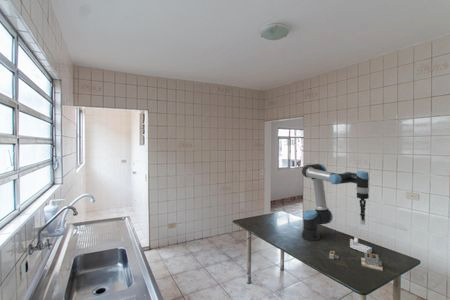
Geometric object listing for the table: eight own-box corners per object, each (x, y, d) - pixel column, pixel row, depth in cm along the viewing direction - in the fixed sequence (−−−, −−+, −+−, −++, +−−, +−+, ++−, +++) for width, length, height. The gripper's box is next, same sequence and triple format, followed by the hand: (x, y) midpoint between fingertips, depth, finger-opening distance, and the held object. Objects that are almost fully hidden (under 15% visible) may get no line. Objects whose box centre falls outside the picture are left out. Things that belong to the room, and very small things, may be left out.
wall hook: (333, 256, 176) (333, 254, 176) (338, 257, 175) (338, 255, 174) (332, 257, 174) (332, 255, 174) (338, 258, 172) (338, 256, 172)
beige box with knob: (330, 254, 179) (330, 249, 179) (334, 255, 178) (334, 250, 177) (329, 258, 174) (329, 253, 174) (333, 259, 172) (333, 254, 172)
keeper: (361, 258, 172) (361, 249, 171) (381, 262, 166) (381, 252, 166) (361, 266, 161) (361, 256, 161) (382, 271, 155) (382, 260, 155)
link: (364, 259, 169) (364, 252, 169) (377, 261, 165) (377, 254, 165) (364, 264, 162) (364, 257, 162) (378, 267, 158) (378, 260, 158)
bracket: (350, 248, 189) (350, 239, 188) (355, 246, 192) (354, 236, 192) (366, 254, 178) (366, 245, 177) (371, 252, 181) (371, 242, 181)
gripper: (356, 188, 186) (356, 215, 187) (356, 196, 164) (356, 226, 165) (368, 189, 182) (368, 216, 183) (369, 197, 160) (369, 227, 161)
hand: (362, 221), depth 174 cm, fingers open, 13 cm apart
